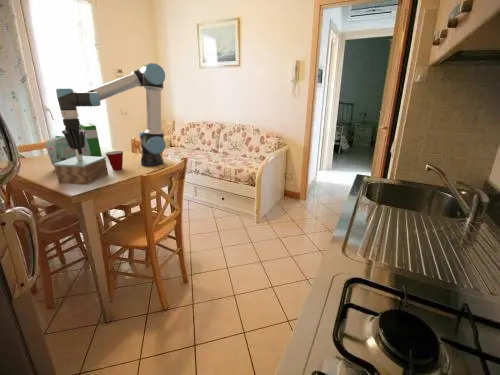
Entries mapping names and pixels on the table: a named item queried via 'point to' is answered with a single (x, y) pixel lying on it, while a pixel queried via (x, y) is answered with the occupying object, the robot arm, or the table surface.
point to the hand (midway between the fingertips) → (80, 159)
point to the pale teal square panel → (82, 163)
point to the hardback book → (92, 139)
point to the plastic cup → (115, 159)
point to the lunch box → (63, 149)
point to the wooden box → (82, 173)
